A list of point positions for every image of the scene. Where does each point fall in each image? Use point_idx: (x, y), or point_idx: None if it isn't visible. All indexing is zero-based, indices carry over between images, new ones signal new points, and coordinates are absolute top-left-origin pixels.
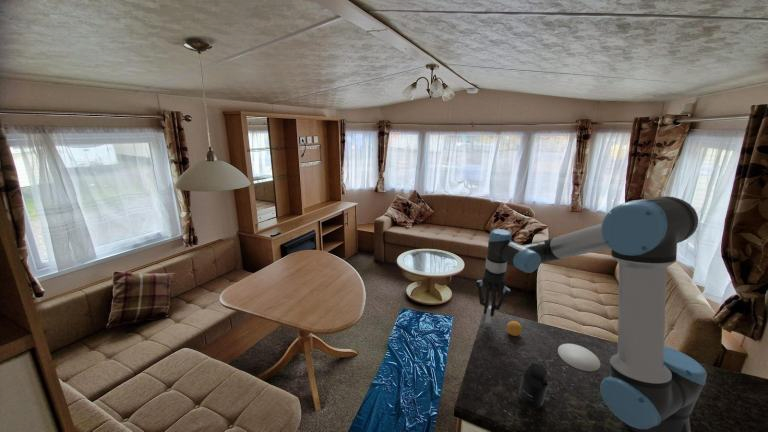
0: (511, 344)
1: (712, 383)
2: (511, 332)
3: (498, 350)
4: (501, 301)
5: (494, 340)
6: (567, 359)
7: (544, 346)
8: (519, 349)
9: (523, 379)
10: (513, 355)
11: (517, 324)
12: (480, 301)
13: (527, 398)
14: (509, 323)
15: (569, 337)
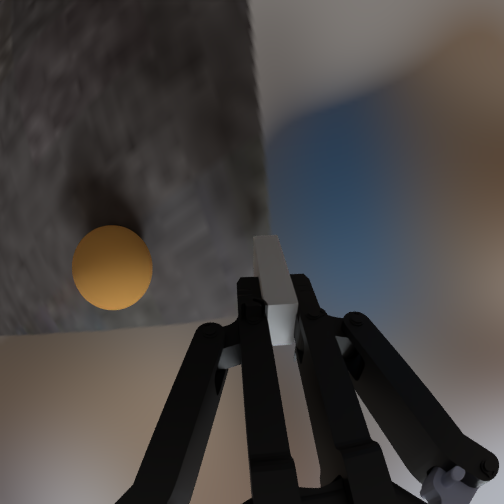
0: (100, 162)
1: None
2: (111, 228)
3: (142, 66)
4: (178, 409)
5: (186, 133)
6: None
7: (13, 245)
8: (62, 153)
9: None
10: (71, 88)
11: (84, 283)
12: (374, 332)
13: None
14: (128, 275)
15: (7, 330)
